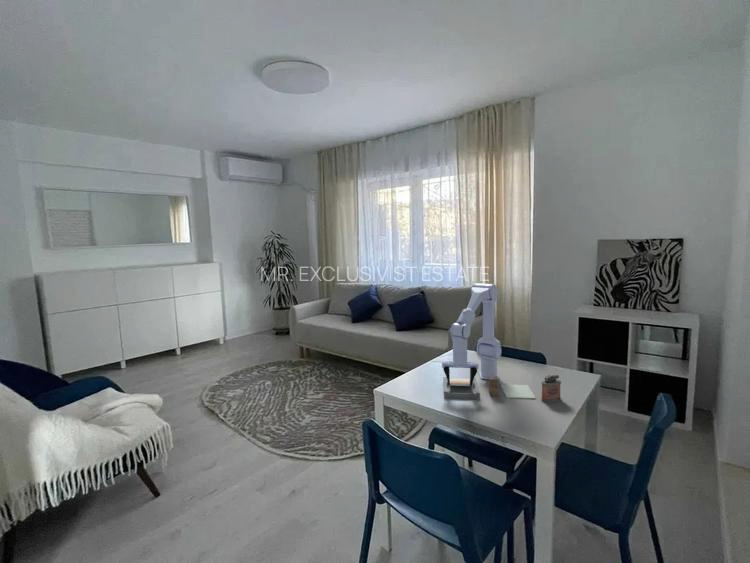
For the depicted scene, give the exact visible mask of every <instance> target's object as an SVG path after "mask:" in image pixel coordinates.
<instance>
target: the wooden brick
mask: <svg viewBox="0 0 750 563" xmlns="http://www.w3.org/2000/svg"><path fill="white" fill-rule="evenodd" d="M488 394H489V396H490V397H499V379H498V378H497V376H489V379H488Z"/></svg>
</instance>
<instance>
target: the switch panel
mask: <svg viewBox="0 0 750 563" xmlns="http://www.w3.org/2000/svg"><path fill="white" fill-rule="evenodd" d="M442 380H443V381H442V383H443V384H442V385H443V396H444V397H443V398H444V399H469V400H470V399H471V400H472V399H473V400H480V399H481V395H480V394H481V392H480V389H479V386H478V381H477V378H476V377H474V380H473V386H455V385H448V380H447V377H445V376H443V378H442Z"/></svg>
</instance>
